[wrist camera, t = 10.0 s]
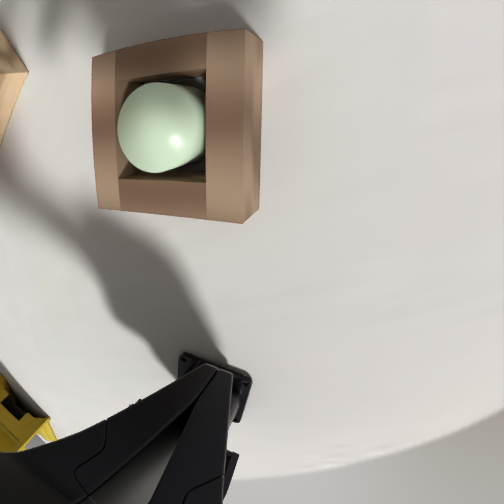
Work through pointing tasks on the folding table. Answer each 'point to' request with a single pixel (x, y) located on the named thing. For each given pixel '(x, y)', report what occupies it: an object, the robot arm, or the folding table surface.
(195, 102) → the table button
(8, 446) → the vintage telephone
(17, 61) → the wooden box
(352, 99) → the folding table surface
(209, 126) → the button housing
